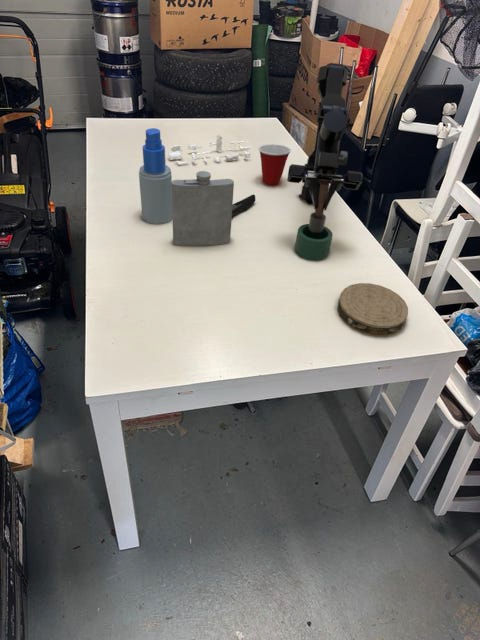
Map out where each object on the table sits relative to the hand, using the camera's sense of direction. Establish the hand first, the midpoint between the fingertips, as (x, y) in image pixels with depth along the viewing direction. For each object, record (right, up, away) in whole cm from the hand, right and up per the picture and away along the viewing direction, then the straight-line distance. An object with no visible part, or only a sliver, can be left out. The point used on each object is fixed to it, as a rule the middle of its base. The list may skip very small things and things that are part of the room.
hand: (320, 209), depth 118 cm
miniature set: (-32, +32, +54) cm, 71 cm away
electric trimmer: (-21, +5, +25) cm, 33 cm away
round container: (-1, -9, +10) cm, 14 cm away
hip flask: (-31, -7, +10) cm, 33 cm away
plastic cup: (-10, +19, +42) cm, 47 cm away
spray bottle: (-45, +2, +18) cm, 49 cm away
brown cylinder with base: (0, -4, +5) cm, 7 cm away
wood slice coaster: (+10, -27, -9) cm, 30 cm away
